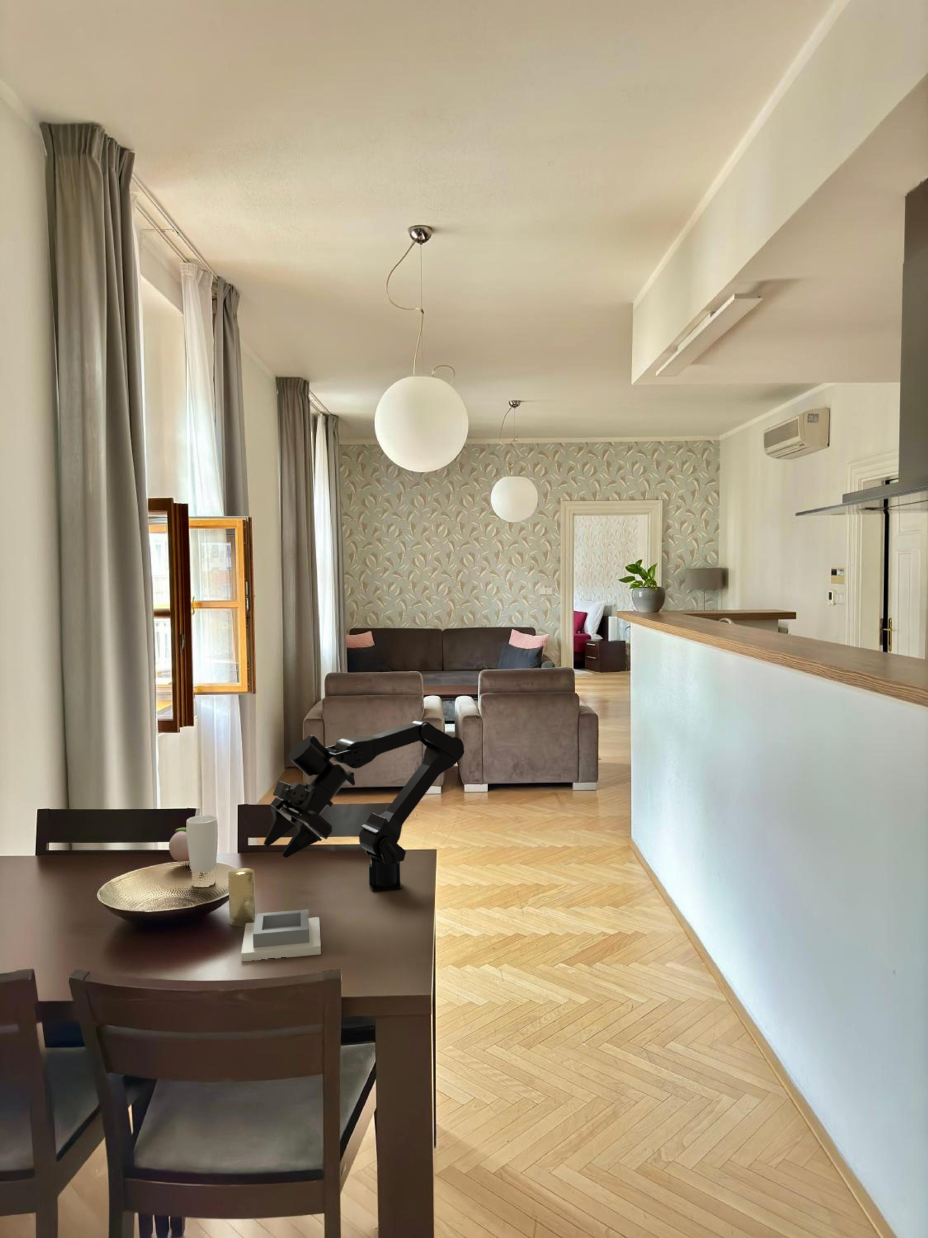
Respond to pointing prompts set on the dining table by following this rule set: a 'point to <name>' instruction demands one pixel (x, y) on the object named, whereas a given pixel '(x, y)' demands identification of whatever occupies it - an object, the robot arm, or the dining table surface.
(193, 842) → the drinking glass
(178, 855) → the decorative fruit
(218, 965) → the dining table surface
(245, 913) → the cylinder
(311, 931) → the jig plate
